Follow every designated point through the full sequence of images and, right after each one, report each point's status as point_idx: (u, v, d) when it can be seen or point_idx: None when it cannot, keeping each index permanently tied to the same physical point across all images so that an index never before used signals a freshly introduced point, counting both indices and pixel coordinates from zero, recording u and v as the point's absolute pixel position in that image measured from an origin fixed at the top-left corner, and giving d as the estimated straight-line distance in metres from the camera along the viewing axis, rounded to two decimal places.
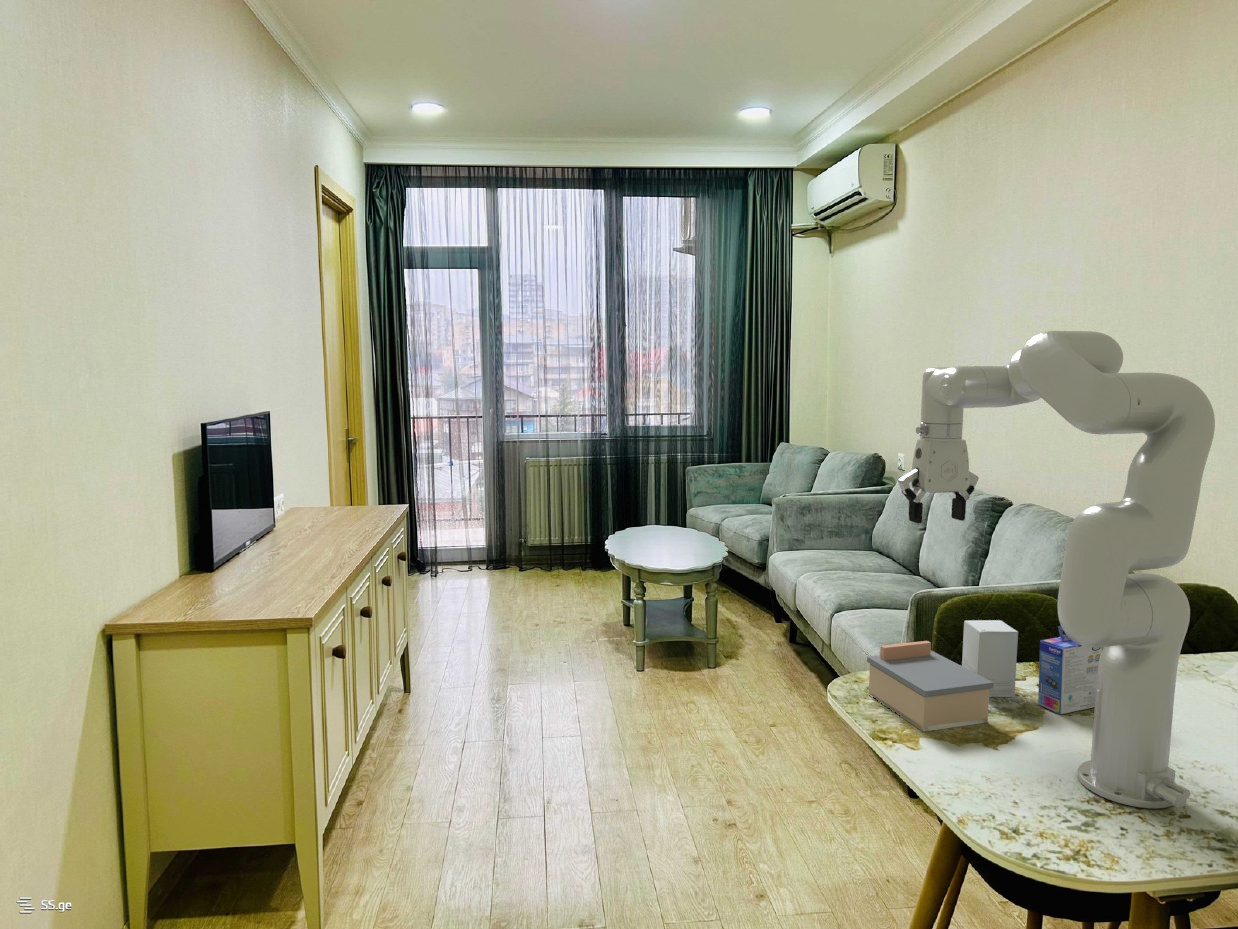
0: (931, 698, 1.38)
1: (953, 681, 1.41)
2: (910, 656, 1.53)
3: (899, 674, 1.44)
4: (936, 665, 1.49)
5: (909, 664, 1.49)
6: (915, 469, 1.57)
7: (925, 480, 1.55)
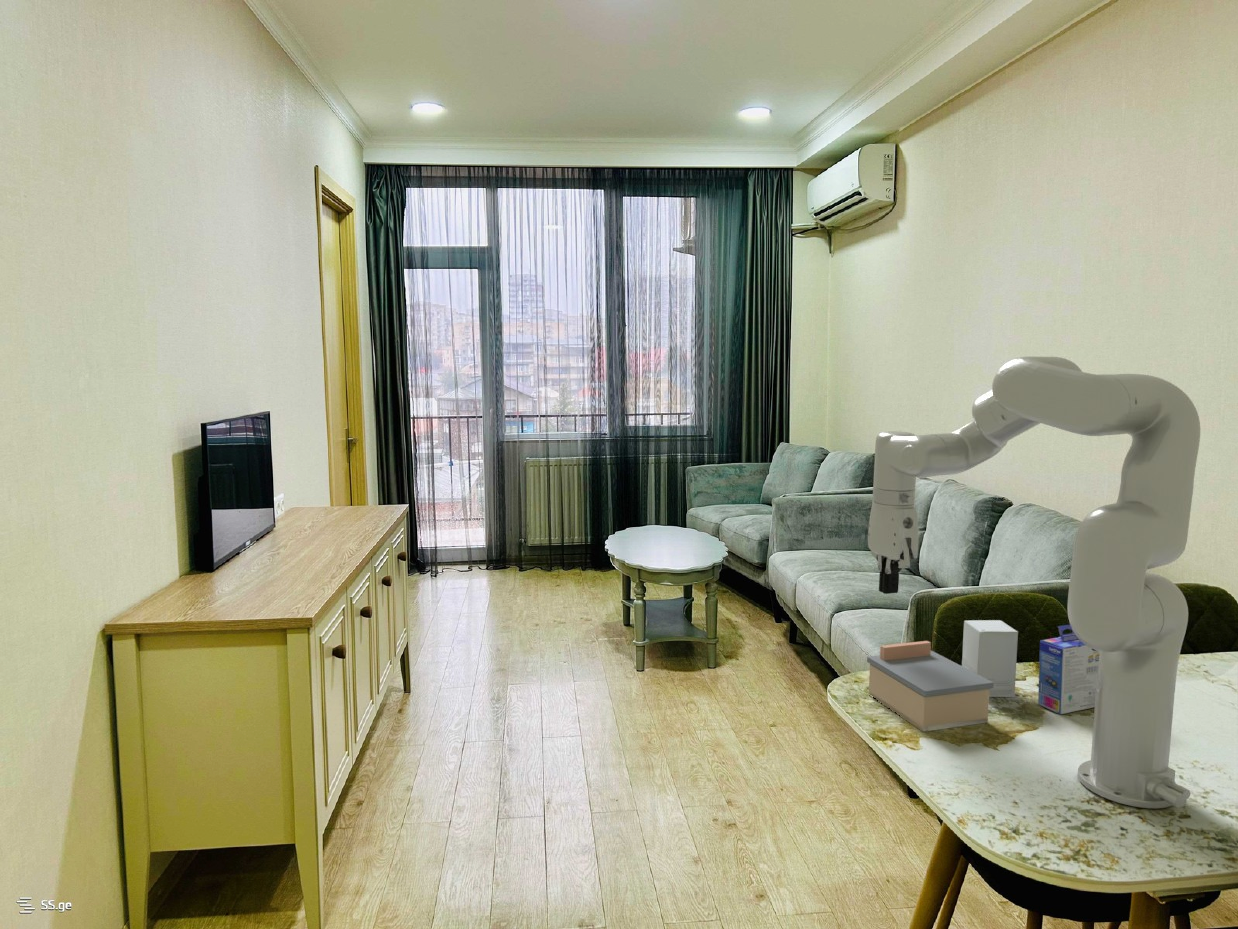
0: (931, 698, 1.38)
1: (953, 681, 1.41)
2: (910, 656, 1.53)
3: (899, 674, 1.44)
4: (936, 665, 1.49)
5: (909, 664, 1.49)
6: (903, 545, 1.52)
7: (917, 548, 1.52)
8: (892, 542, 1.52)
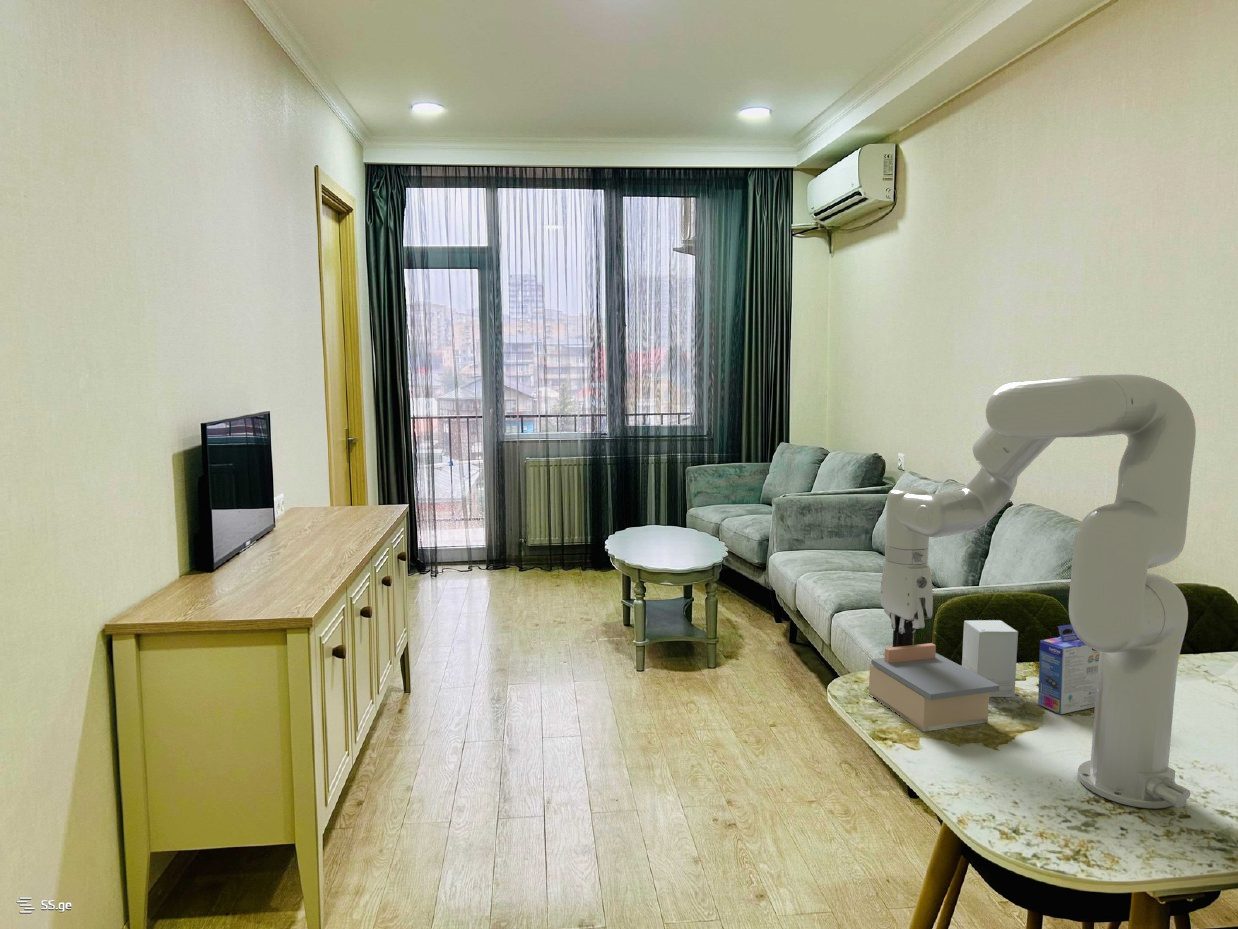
0: None
1: (958, 684, 1.40)
2: (915, 659, 1.51)
3: (904, 677, 1.43)
4: (941, 668, 1.47)
5: (913, 667, 1.48)
6: (917, 604, 1.49)
7: (932, 607, 1.49)
8: (906, 602, 1.49)
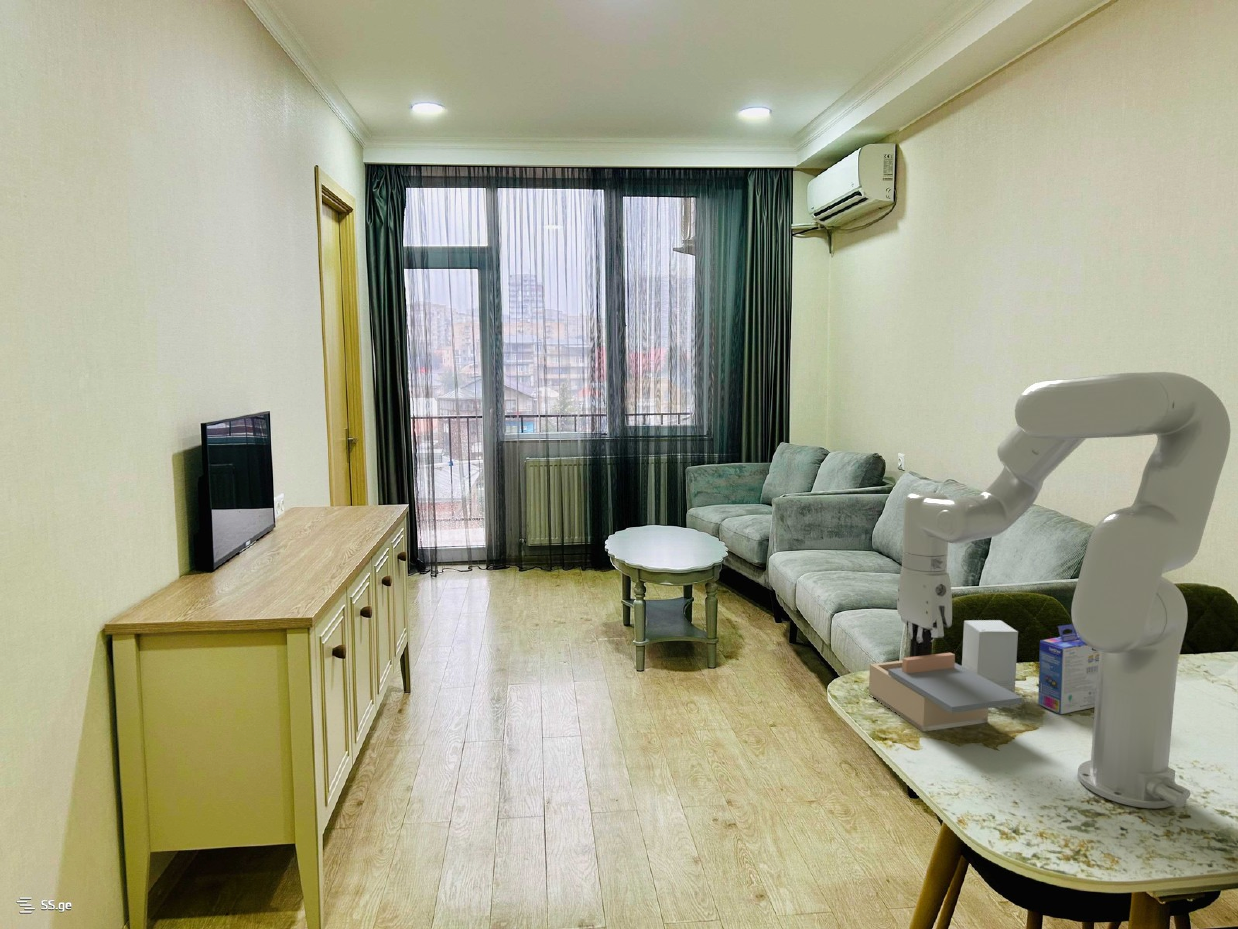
0: None
1: (980, 696, 1.35)
2: (933, 669, 1.46)
3: (923, 688, 1.38)
4: (961, 679, 1.42)
5: (932, 677, 1.43)
6: (936, 613, 1.43)
7: (951, 616, 1.44)
8: (924, 610, 1.44)
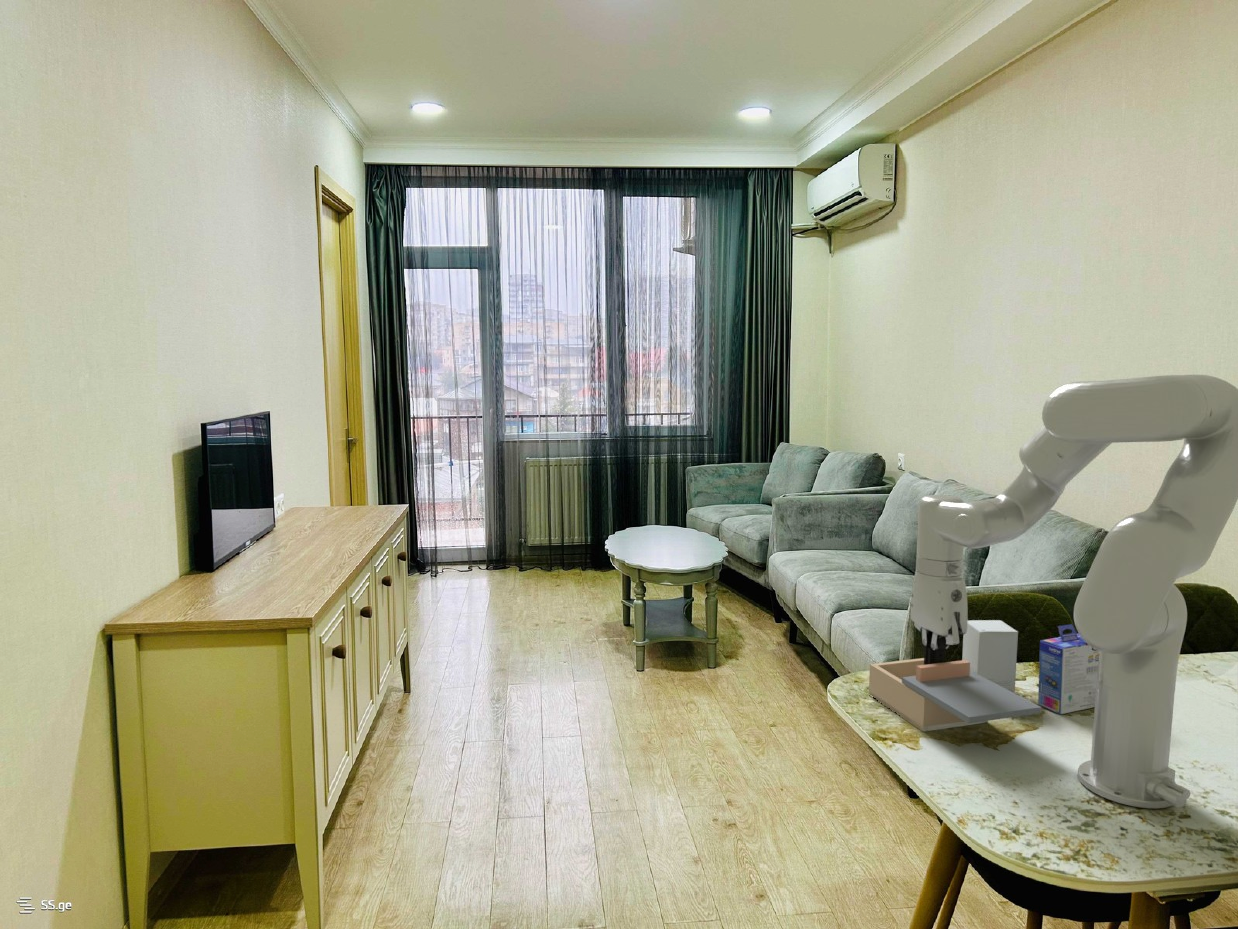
0: None
1: (997, 706, 1.31)
2: (948, 677, 1.43)
3: (938, 697, 1.34)
4: (977, 687, 1.38)
5: (947, 686, 1.39)
6: (951, 619, 1.40)
7: (967, 622, 1.40)
8: (939, 616, 1.40)
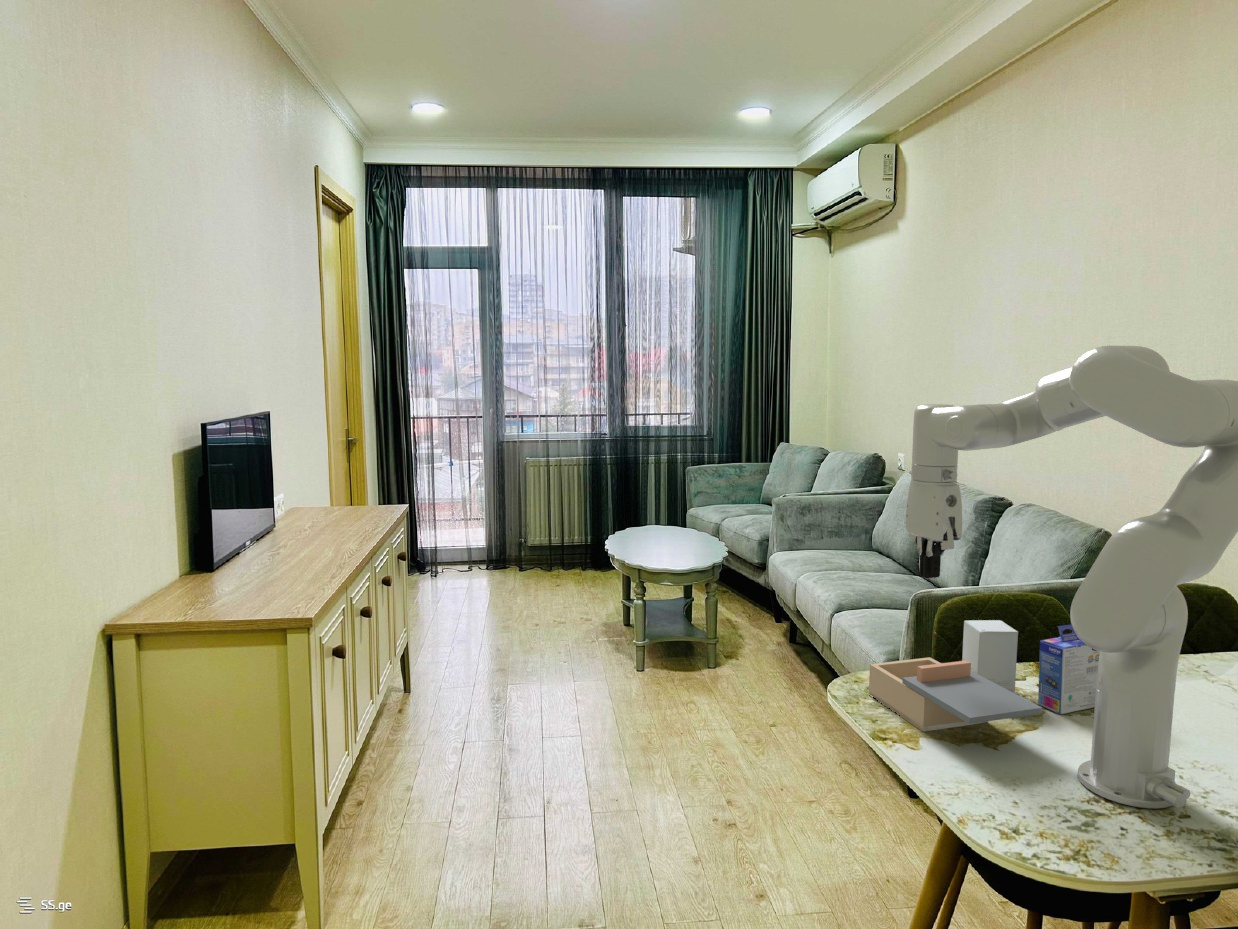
0: None
1: (998, 706, 1.31)
2: (949, 677, 1.42)
3: (939, 698, 1.34)
4: (978, 688, 1.38)
5: (948, 686, 1.39)
6: None
7: (961, 527, 1.42)
8: (934, 522, 1.42)
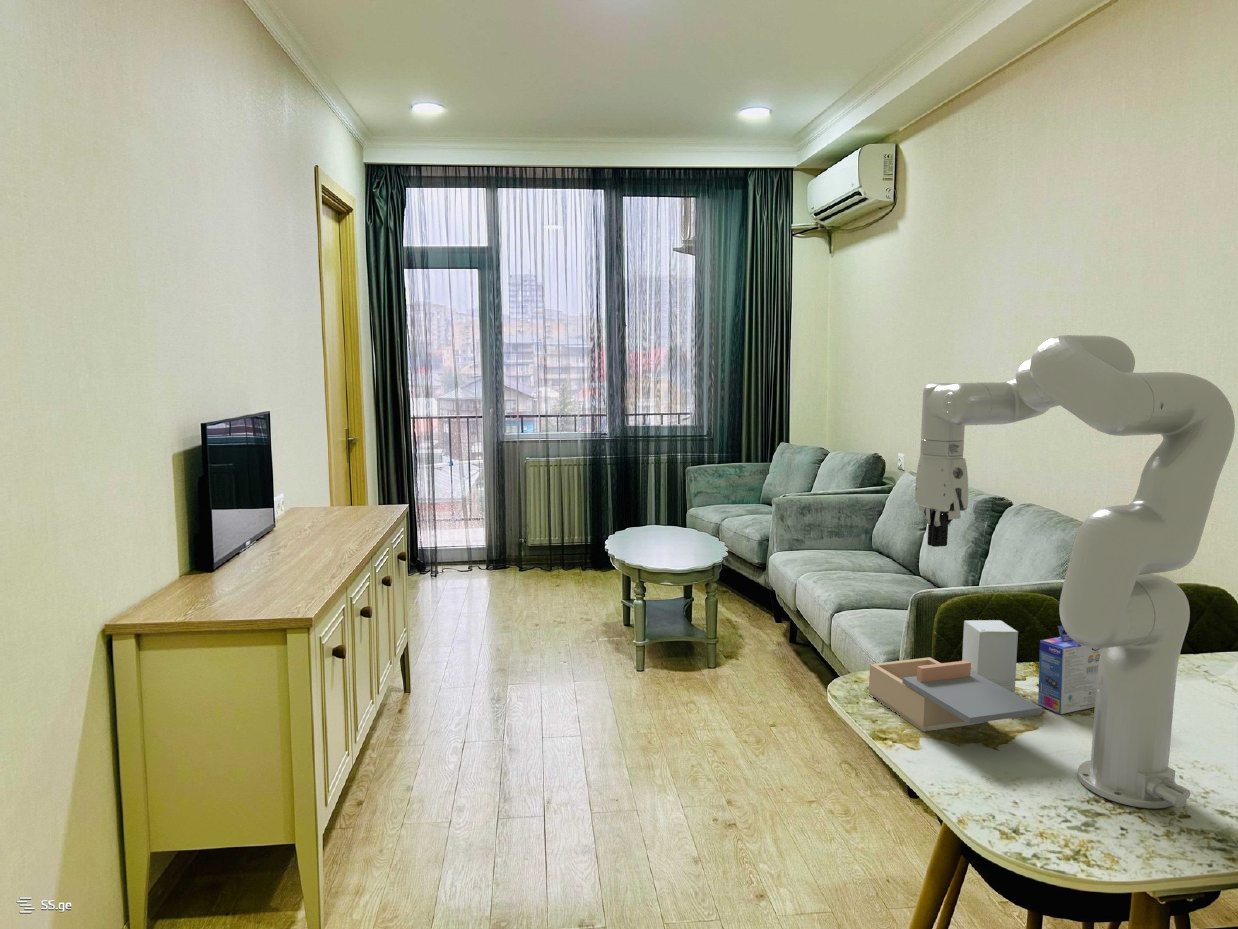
0: None
1: (998, 706, 1.31)
2: (949, 677, 1.42)
3: (939, 698, 1.34)
4: (978, 688, 1.38)
5: (948, 686, 1.39)
6: (953, 495, 1.51)
7: (967, 498, 1.51)
8: (942, 493, 1.51)
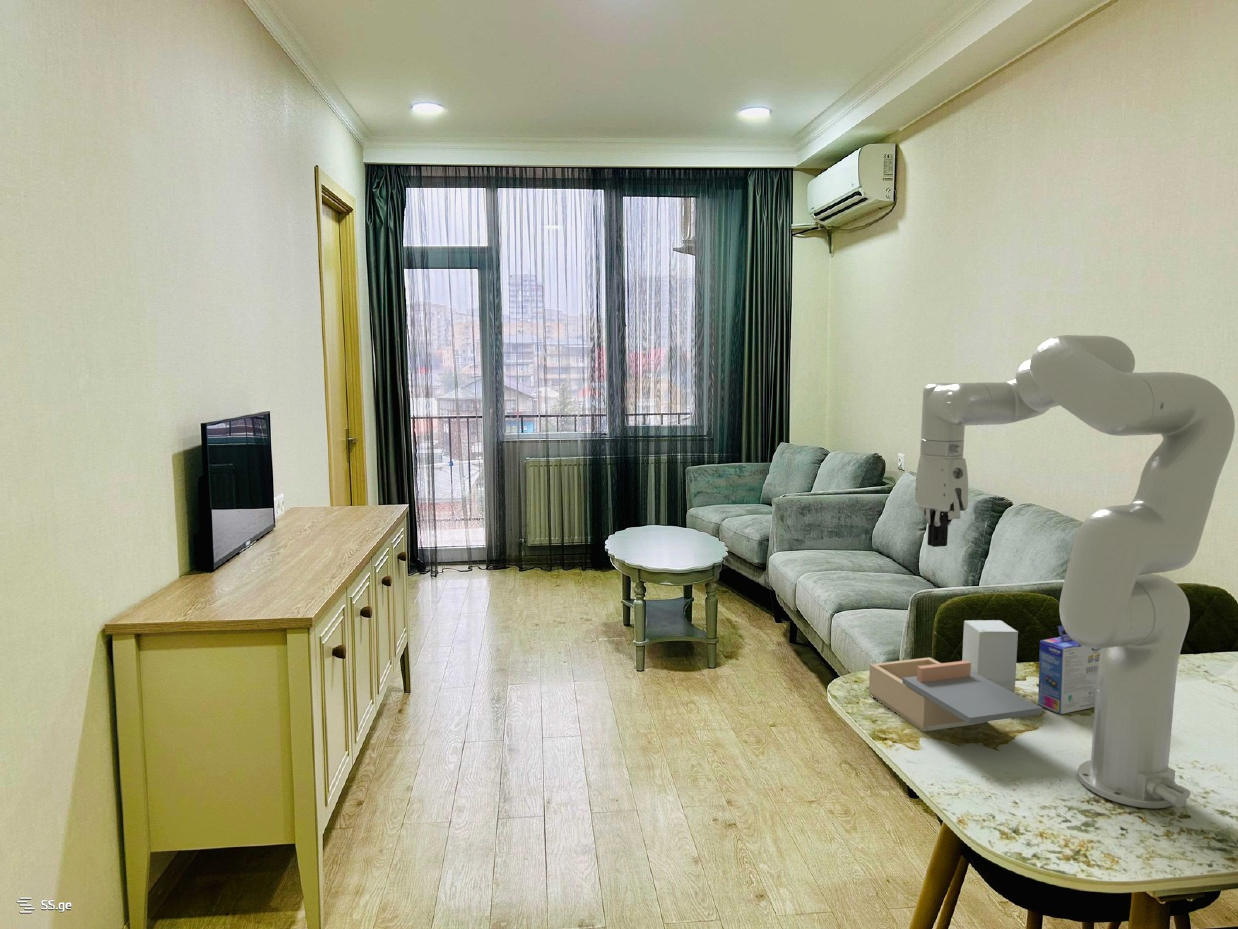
0: None
1: (998, 706, 1.31)
2: (949, 677, 1.42)
3: (939, 698, 1.34)
4: (978, 688, 1.38)
5: (948, 686, 1.39)
6: (953, 495, 1.51)
7: (967, 498, 1.51)
8: (942, 493, 1.51)
